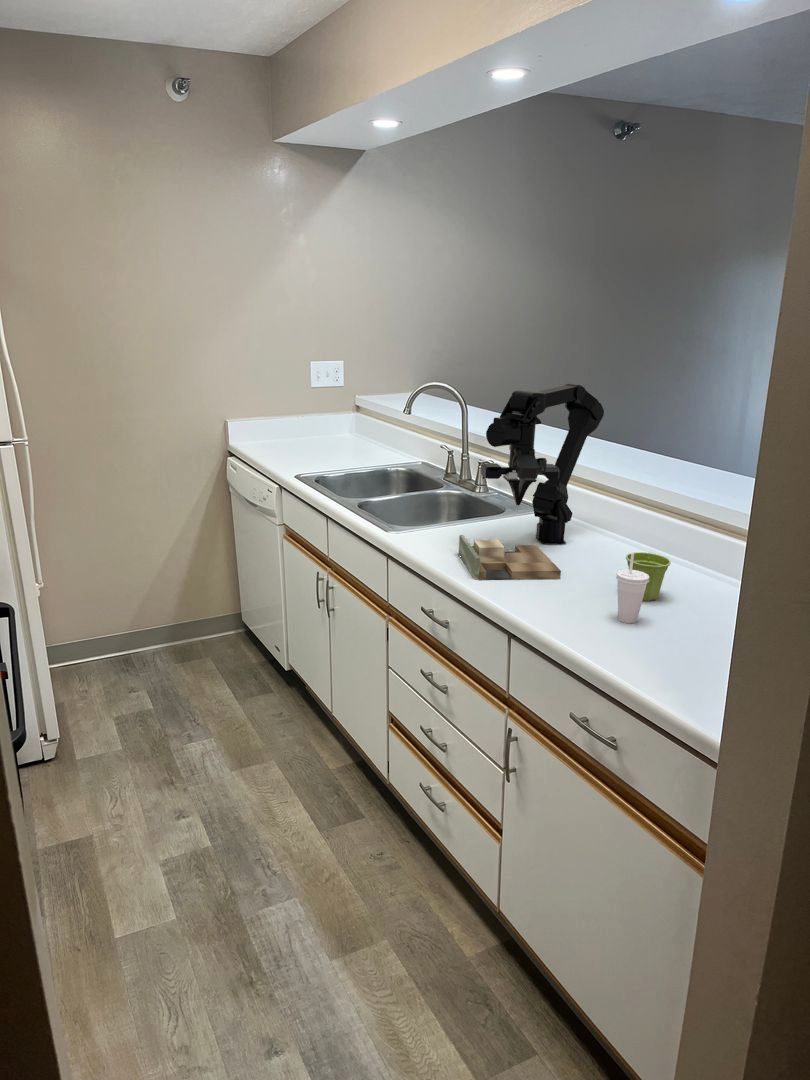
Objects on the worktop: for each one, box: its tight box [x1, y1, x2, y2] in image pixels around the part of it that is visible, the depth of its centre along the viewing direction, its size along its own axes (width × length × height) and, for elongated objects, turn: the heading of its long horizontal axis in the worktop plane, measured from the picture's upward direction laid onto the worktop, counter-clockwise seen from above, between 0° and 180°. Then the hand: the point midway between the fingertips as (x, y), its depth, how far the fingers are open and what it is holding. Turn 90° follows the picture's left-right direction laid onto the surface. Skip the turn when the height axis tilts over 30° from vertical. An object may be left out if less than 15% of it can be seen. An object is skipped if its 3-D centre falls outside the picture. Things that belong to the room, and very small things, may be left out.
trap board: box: [458, 534, 562, 581], centre depth 193 cm, size 20×20×5 cm
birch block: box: [473, 539, 505, 562], centre depth 193 cm, size 6×6×4 cm
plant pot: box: [625, 551, 672, 602], centre depth 175 cm, size 9×9×9 cm
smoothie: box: [615, 552, 649, 624], centre depth 161 cm, size 6×6×14 cm
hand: (517, 504), depth 203 cm, fingers closed
